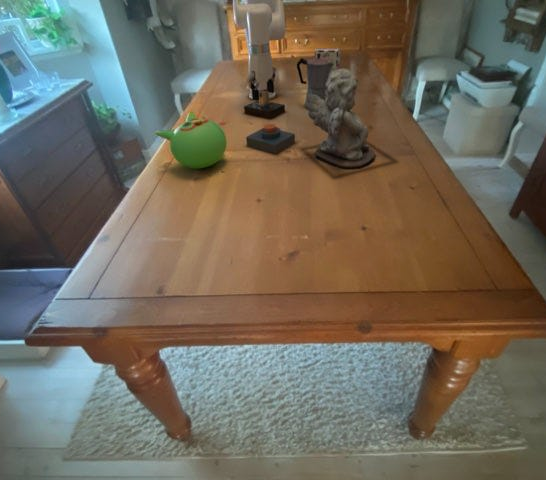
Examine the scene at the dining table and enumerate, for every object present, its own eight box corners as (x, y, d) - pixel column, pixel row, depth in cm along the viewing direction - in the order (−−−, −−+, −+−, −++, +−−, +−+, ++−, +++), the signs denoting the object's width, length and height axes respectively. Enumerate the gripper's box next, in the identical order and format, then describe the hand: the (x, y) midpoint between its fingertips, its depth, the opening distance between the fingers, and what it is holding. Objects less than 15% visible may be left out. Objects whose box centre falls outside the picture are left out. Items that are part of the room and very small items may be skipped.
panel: (244, 113, 147) (243, 105, 145) (259, 106, 153) (258, 99, 150) (270, 119, 140) (270, 111, 138) (285, 112, 146) (284, 104, 144)
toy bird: (202, 182, 104) (191, 133, 94) (163, 169, 111) (149, 123, 101) (239, 158, 115) (233, 112, 105) (201, 148, 122) (192, 104, 112)
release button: (262, 132, 119) (261, 127, 118) (269, 128, 121) (268, 123, 120) (271, 134, 117) (270, 129, 116) (278, 130, 120) (277, 125, 118)
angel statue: (333, 177, 103) (339, 86, 86) (302, 149, 118) (301, 67, 101) (395, 161, 109) (411, 73, 92) (357, 137, 124) (365, 57, 107)
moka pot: (330, 110, 145) (333, 56, 132) (294, 109, 148) (293, 56, 134) (333, 103, 152) (336, 50, 139) (298, 102, 155) (298, 50, 141)
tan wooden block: (264, 107, 142) (263, 92, 138) (256, 105, 144) (255, 90, 140) (271, 104, 145) (270, 89, 141) (263, 102, 147) (262, 88, 143)
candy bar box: (339, 87, 169) (341, 48, 157) (336, 90, 165) (338, 50, 154) (317, 86, 172) (317, 47, 161) (313, 88, 169) (314, 49, 157)
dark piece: (247, 146, 122) (245, 131, 119) (266, 135, 129) (265, 121, 125) (276, 154, 116) (275, 139, 113) (294, 142, 123) (294, 128, 119)
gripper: (266, 42, 137) (269, 88, 149) (237, 52, 128) (242, 101, 140) (281, 44, 134) (283, 91, 146) (252, 55, 124) (257, 104, 136)
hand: (263, 96), depth 143 cm, fingers open, 9 cm apart
